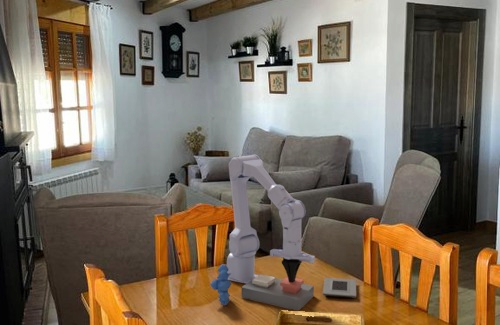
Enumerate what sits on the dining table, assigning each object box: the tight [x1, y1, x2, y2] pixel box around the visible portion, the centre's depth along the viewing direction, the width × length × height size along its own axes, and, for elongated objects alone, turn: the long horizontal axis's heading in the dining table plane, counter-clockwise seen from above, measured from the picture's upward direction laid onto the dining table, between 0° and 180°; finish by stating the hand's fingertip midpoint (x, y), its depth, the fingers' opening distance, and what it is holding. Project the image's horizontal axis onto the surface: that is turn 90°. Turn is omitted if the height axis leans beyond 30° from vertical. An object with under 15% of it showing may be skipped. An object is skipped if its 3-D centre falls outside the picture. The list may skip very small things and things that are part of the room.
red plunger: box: [280, 276, 305, 294], centre depth 158 cm, size 6×6×5 cm
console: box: [241, 274, 315, 311], centre depth 160 cm, size 20×12×4 cm, turn 61°
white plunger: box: [252, 273, 276, 288], centre depth 163 cm, size 6×6×5 cm
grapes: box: [210, 263, 232, 306], centre depth 156 cm, size 12×7×12 cm, turn 5°
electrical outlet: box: [322, 277, 357, 299], centre depth 165 cm, size 13×10×2 cm
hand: (291, 281), depth 157 cm, fingers closed, pressing on red plunger
